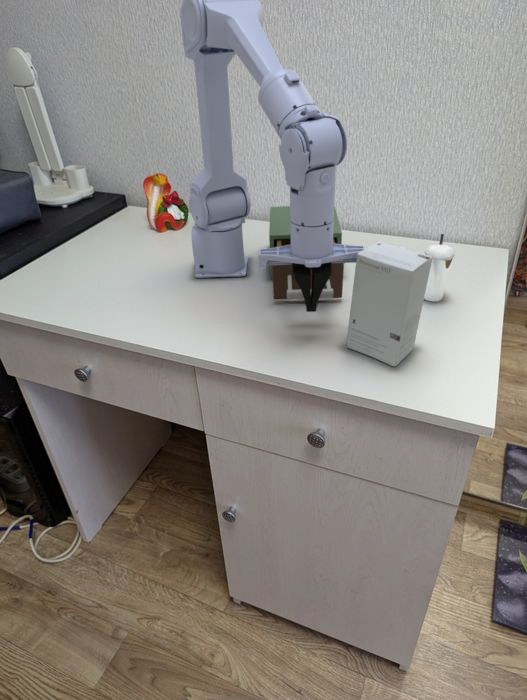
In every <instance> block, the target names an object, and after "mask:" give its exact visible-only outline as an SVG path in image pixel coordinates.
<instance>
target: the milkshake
mask: <svg viewBox="0 0 527 700" xmlns="http://www.w3.org/2000/svg"><path fill="white" fill-rule="evenodd" d="M444 237H445V233H442V232H441V233H440V237H439V243H438V244H437V243H436V244H431V245H429V246H428V247H427V248H425V250H424V255H428V256H431V257H432V263H431V268H430V272H429V277H428V282H427V287H426V291H425V296H424V300H425V301H427V302H431V303H432V302H433V303H434V302H440V301H441V300H443V297H444V294H445V293H444V292H445V289H446V285H447V283H448V278H449V274H450V271H451V268H452V265H453V262H454V259H455V256H456V251H455V249H454V248H453V247H452V246H450V245H447V244H444Z"/></svg>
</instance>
